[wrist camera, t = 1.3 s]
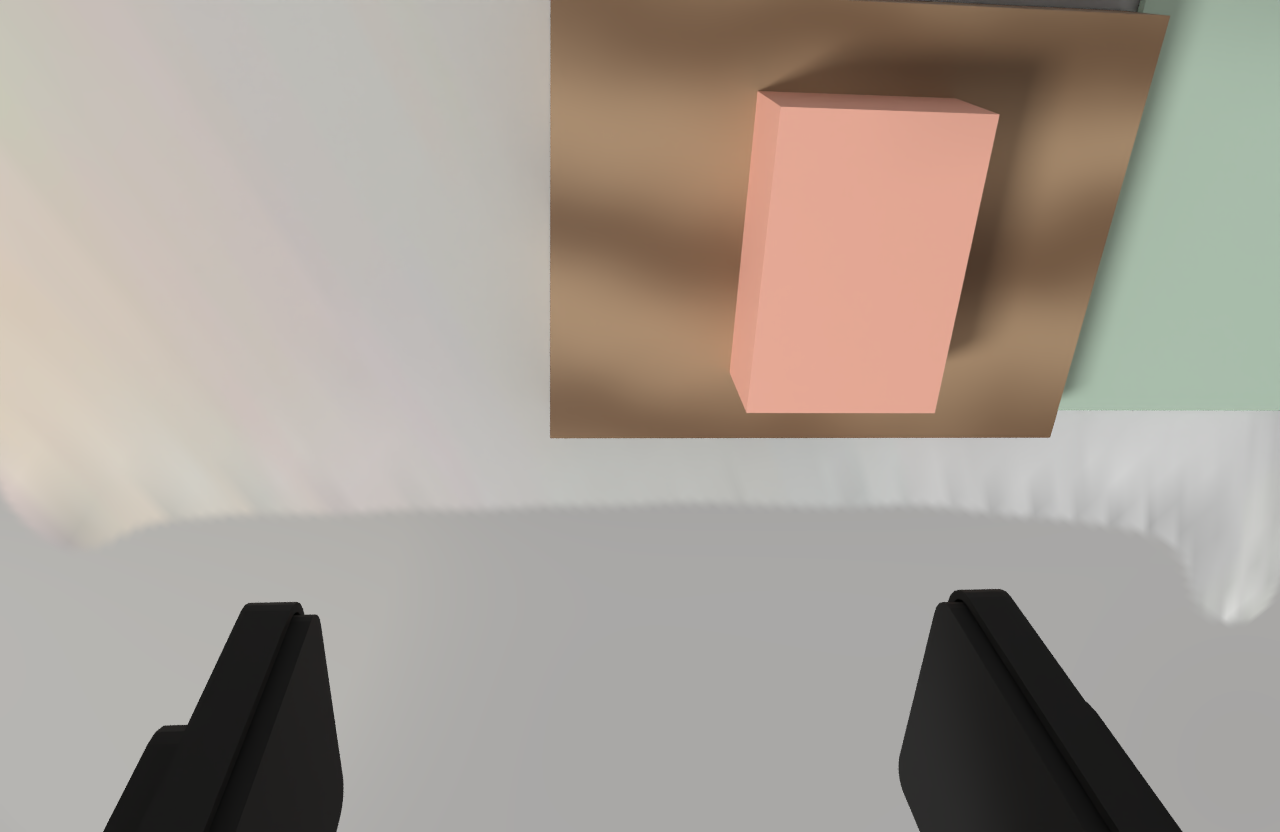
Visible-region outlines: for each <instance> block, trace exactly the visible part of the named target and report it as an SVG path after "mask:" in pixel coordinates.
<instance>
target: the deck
mask: <svg viewBox="0 0 1280 832" xmlns="http://www.w3.org/2000/svg"><path fill="white" fill-rule="evenodd" d="M1169 19H1170V16H1169V15H1159V14H1150V13H1140V12H1131V11H1121V10H1100V9H1079V8H1058V7H1037V6H1016V5H995V4H974V3H953V2H933V1H912V0H551V180H550V438H1049V437H1050V436H1051V432H1052V429H1053V425H1054V422H1055V418H1056V415H1057V411H1058V408H1059V404H1060V401H1061V397H1062V394H1063V390H1064V387H1065V383H1066V380H1067V376H1068V373H1069V369H1070V366H1071V362H1072V359H1073V355H1074V352H1075V348H1076V345H1077V341H1078V338H1079V334H1080V331H1081V327H1082V324H1083V320H1084V317H1085V313H1086V310H1087V306H1088V303H1089V299H1090V296H1091V292H1092V289H1093V285H1094V282H1095V278H1096V275H1097V271H1098V268H1099V264H1100V261H1101V257H1102V254H1103V250H1104V247H1105V243H1106V240H1107V236H1108V233H1109V229H1110V226H1111V222H1112V219H1113V215H1114V212H1115V208H1116V205H1117V201H1118V198H1119V194H1120V191H1121V187H1122V184H1123V180H1124V177H1125V173H1126V170H1127V166H1128V163H1129V159H1130V156H1131V152H1132V149H1133V145H1134V142H1135V138H1136V135H1137V131H1138V128H1139V124H1140V121H1141V117H1142V114H1143V110H1144V107H1145V103H1146V100H1147V96H1148V93H1149V89H1150V86H1151V82H1152V79H1153V75H1154V72H1155V68H1156V65H1157V61H1158V58H1159V54H1160V51H1161V47H1162V44H1163V40H1164V37H1165V33H1166V30H1167V26H1168V23H1169ZM758 91H773V92H800V93H827V94H854V95H881V96H908V97H935V98H956V99H959V100H962V101H964V102H967V103H970V104H972V105H975V106H978V107H981V108H983V109H986V110H989V111H992V112H994V113H997V114H1000V115H999V120H998V124H997V129H996V134H995V138H994V143H993V148H992V152H991V157H990V161H989V166H988V171H987V175H986V180H985V184H984V189H983V194H982V198H981V203H980V207H979V212H978V217H977V221H976V226H975V230H974V235H973V240H972V244H971V249H970V253H969V258H968V263H967V267H966V272H965V277H964V281H963V286H962V290H961V295H960V300H959V304H958V309H957V313H956V318H955V323H954V327H953V332H952V336H951V341H950V346H949V350H948V355H947V359H946V364H945V369H944V373H943V378H942V382H941V387H940V392H939V396H938V401H937V406H936V410H935V413H746V410H745V408H744V406H743V403H742V401H741V399H740V396H739V394H738V391H737V389H736V387H735V384H734V382H733V380H732V377H731V375H730V363H731V353H732V343H733V333H734V323H735V313H736V303H737V293H738V283H739V273H740V262H741V252H742V242H743V232H744V222H745V212H746V202H747V192H748V182H749V172H750V162H751V152H752V142H753V132H754V122H755V112H756V102H757V92H758Z"/></svg>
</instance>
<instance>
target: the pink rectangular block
mask: <svg viewBox="0 0 1280 832" xmlns="http://www.w3.org/2000/svg"><path fill="white" fill-rule="evenodd" d="M999 115H1000V114H997V113H994V112H992V111H989V110H986V109H983V108H981V107H978V106H975V105H972V104H970V103H967V102H964V101H962V100H959V99H956V98H935V97H908V96H881V95H854V94H827V93H800V92H773V91H758V92H757V102H756V112H755V122H754V132H753V142H752V152H751V162H750V172H749V182H748V192H747V202H746V212H745V222H744V232H743V242H742V252H741V262H740V273H739V283H738V293H737V303H736V313H735V323H734V333H733V343H732V353H731V363H730V375H731V377H732V380H733V382H734V384H735V387H736V389H737V391H738V394H739V396H740V399H741V401H742V403H743V406H744V408H745V410H746V413H935V410H936V406H937V401H938V396H939V392H940V387H941V382H942V378H943V373H944V369H945V364H946V359H947V355H948V350H949V346H950V341H951V336H952V332H953V327H954V323H955V318H956V313H957V309H958V304H959V300H960V295H961V290H962V286H963V281H964V277H965V272H966V267H967V263H968V258H969V253H970V249H971V244H972V240H973V235H974V230H975V226H976V221H977V217H978V212H979V207H980V203H981V198H982V194H983V189H984V184H985V180H986V175H987V171H988V166H989V161H990V157H991V152H992V148H993V143H994V138H995V134H996V129H997V124H998V120H999Z"/></svg>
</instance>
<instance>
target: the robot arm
mask: <svg viewBox="0 0 1280 832" xmlns="http://www.w3.org/2000/svg"><path fill="white" fill-rule="evenodd" d="M899 777H900V782H901V787H902V790H903V793H904V795H905V797H906V800H907V802H908V804H909V807H910V809H911V812H912V814H913V816H914V819H915V821H916V824H917V826H918V828H919V831H920V832H1182V831H1181V829H1180V828H1179V826H1178V825H1177V824H1176V822H1175V821H1174V820H1173V818H1172V817H1171V816H1170V814H1169V813H1168V811H1167V810H1166V808H1165V807H1164V806H1163V804H1162V803H1161V801H1160V800H1159V799H1158V797H1157V796H1156V794H1155V793H1154V792H1153V790H1152V789H1151V787H1150V786H1149V785H1148V783H1147V782H1146V780H1145V779H1144V778H1143V776H1142V775H1141V774H1140V772H1139V771H1138V770H1137V768H1136V767H1135V765H1134V764H1133V762H1132V761H1131V760H1130V758H1129V757H1128V755H1127V754H1126V753H1125V751H1124V750H1123V749H1122V747H1121V746H1120V744H1119V743H1118V741H1117V740H1116V739H1115V737H1114V736H1113V735H1112V733H1111V732H1110V730H1109V729H1108V728H1107V726H1106V725H1105V723H1104V722H1103V721H1102V719H1101V718H1100V717H1099V715H1098V714H1097V713H1096V711H1095V710H1094V709H1093V708H1092V707H1091V706H1090V705H1089V704H1088V703H1087V702H1086V701H1085V700H1084V699H1083V697H1082V696H1081V694H1080V693H1079V692H1078V690H1077V689H1076V687H1075V686H1074V685H1073V683H1072V682H1071V680H1070V679H1069V678H1068V676H1067V675H1066V673H1065V672H1064V671H1063V669H1062V668H1061V666H1060V665H1059V664H1058V662H1057V661H1056V659H1055V658H1054V657H1053V655H1052V654H1051V652H1050V651H1049V650H1048V649H1047V647H1046V645H1045V644H1044V643H1043V641H1042V640H1041V638H1040V637H1039V636H1038V634H1037V633H1036V631H1035V630H1034V629H1033V627H1032V626H1031V624H1030V623H1029V622H1028V620H1027V619H1026V617H1025V616H1024V615H1023V613H1022V612H1021V611H1020V609H1019V608H1018V606H1017V605H1016V603H1015V602H1014V601H1013V599H1012V598H1011V596H1010V595H1009V594H1008V593H1007V592H1006V591H1004V590H1001V589H986V590H985V589H982V590H957V591H954V592H953V593H952V594H951V596H950V598H949V601H948V602H942V603H939V604H938V606H937V607H936V610H935V613H934V617H933V621H932V625H931V629H930V633H929V638H928V642H927V646H926V650H925V654H924V658H923V662H922V666H921V670H920V675H919V679H918V683H917V687H916V691H915V696H914V700H913V703H912V707H911V712H910V716H909V720H908V724H907V728H906V732H905V736H904V740H903V745H902V749H901V753H900V757H899ZM342 802H343V775H342V768H341V761H340V754H339V748H338V740H337V734H336V727H335V719H334V713H333V706H332V699H331V692H330V685H329V678H328V671H327V664H326V658H325V651H324V643H323V636H322V629H321V623H320V619H319V617H318V616H317V615H304V612H303V608H302V606H301V604H300V603H298V602H274V603H248V604H246V605H245V606H244V608H243V609H242V611H241V612H240V615H239V617H238V619H237V621H236V623H235V625H234V627H233V629H232V632H231V634H230V636H229V638H228V640H227V642H226V644H225V646H224V649H223V651H222V653H221V655H220V657H219V659H218V661H217V664H216V665H215V668H214V670H213V672H212V674H211V676H210V678H209V680H208V682H207V685H206V687H205V689H204V691H203V693H202V695H201V697H200V699H199V702H198V704H197V706H196V708H195V710H194V712H193V714H192V716H191V719H190V721H189V723H188V725H172V726H171V725H170V726H163V727H161V728H160V729H159V730H158V731H156V733H155V734H154V735H153V737H152V739H151V740H150V742H149V743H148V745H147V747H146V749H145V751H144V753H143V755H142V757H141V758H140V760H139V762H138V764H137V766H136V768H135V770H134V772H133V774H132V776H131V778H130V780H129V782H128V784H127V786H126V788H125V790H124V792H123V794H122V796H121V798H120V800H119V802H118V804H117V806H116V808H115V809H114V811H113V814H112V815H111V817H110V819H109V821H108V823H107V825H106V827H105V829H104V831H103V832H336V831H337V827H338V823H339V819H340V815H341V809H342Z"/></svg>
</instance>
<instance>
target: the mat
mask: <svg viewBox="0 0 1280 832" xmlns="http://www.w3.org/2000/svg"><path fill="white" fill-rule="evenodd" d="M1137 12H1140V13H1150V14H1159V15H1169V16H1170V19H1169V23H1168V26H1167V30H1166V33H1165V37H1164V40H1163V44H1162V47H1161V51H1160V54H1159V58H1158V61H1157V65H1156V68H1155V72H1154V75H1153V79H1152V82H1151V86H1150V89H1149V93H1148V96H1147V100H1146V103H1145V107H1144V110H1143V114H1142V117H1141V121H1140V124H1139V128H1138V131H1137V135H1136V138H1135V142H1134V145H1133V149H1132V152H1131V156H1130V159H1129V163H1128V166H1127V170H1126V173H1125V177H1124V180H1123V184H1122V187H1121V191H1120V194H1119V198H1118V201H1117V205H1116V208H1115V212H1114V215H1113V219H1112V222H1111V226H1110V229H1109V233H1108V236H1107V240H1106V243H1105V247H1104V250H1103V254H1102V257H1101V261H1100V264H1099V268H1098V271H1097V275H1096V278H1095V282H1094V285H1093V289H1092V292H1091V296H1090V299H1089V303H1088V306H1087V310H1086V313H1085V317H1084V320H1083V324H1082V327H1081V331H1080V334H1079V338H1078V341H1077V345H1076V348H1075V352H1074V355H1073V359H1072V362H1071V366H1070V369H1069V373H1068V376H1067V380H1066V383H1065V387H1064V390H1063V394H1062V397H1061V401H1060V404H1059V408H1058V410H1225V411H1280V0H1140V4H1139V8H1138V11H1137Z"/></svg>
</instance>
